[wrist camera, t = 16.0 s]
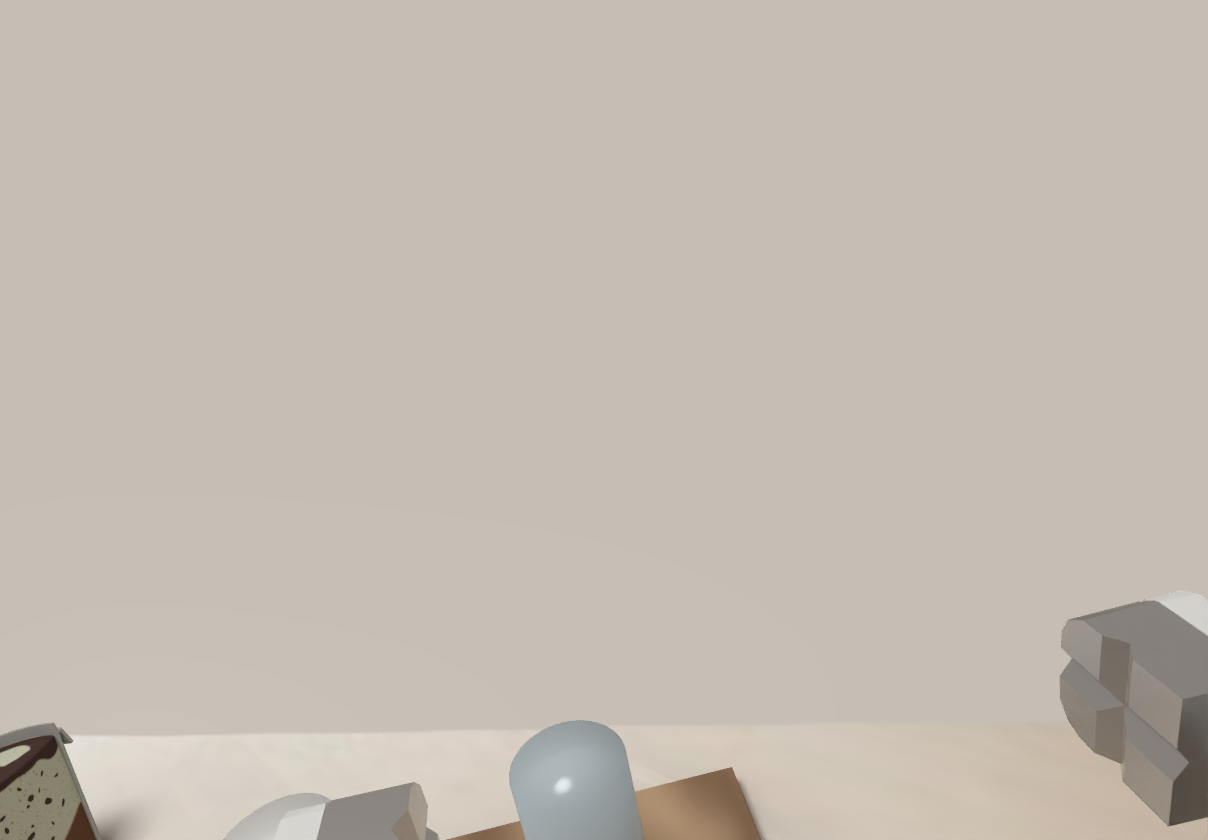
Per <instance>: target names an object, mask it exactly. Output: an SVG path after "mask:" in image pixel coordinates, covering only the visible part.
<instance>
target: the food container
mask: <svg viewBox="0 0 1208 840" xmlns="http://www.w3.org/2000/svg"><path fill="white" fill-rule="evenodd" d="M72 742H73V740H72V739H71V738H70V737H69V735H68V734H67V733H66V732H65V731H64V730H63V729H62V728H57V727H56V726H55V724H54V723H45V724H38V725H33V726H28V727H24V728H20V729H17V730H14V731H11V732H8V733H5V734H2V735H0V840H102V839H101V837H100V834H99V832H98V829H97V827H96V824H95V822H94V819H93V817H92V814H91V812H90V809H89V807H88V804H87V802H86V799H85V797H84V794H83V792H82V789H81V787H80V784H79V782H78V779H77V777H76V774H75V772H74V769H73V767H72V764H71V762H70V759H69V757H68V754H67V752H66V749H65V747H64V744H67V743H72Z"/></svg>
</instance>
